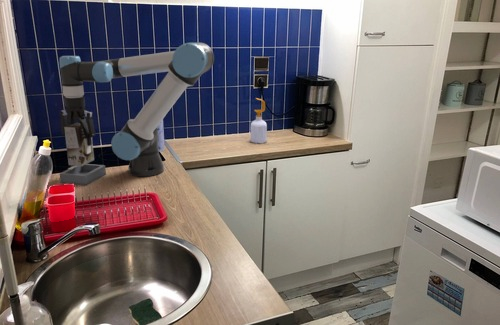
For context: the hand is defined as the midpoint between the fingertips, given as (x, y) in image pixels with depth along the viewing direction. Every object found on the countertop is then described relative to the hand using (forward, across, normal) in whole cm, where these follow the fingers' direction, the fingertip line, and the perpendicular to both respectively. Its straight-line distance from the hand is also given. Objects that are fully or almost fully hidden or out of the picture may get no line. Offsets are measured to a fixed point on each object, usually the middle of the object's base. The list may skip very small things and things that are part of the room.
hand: (80, 152), depth 168 cm
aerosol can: (+12, -11, -48) cm, 51 cm away
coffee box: (+5, 0, 0) cm, 5 cm away
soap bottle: (+11, -59, -78) cm, 99 cm away
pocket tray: (+11, 0, 0) cm, 11 cm away
